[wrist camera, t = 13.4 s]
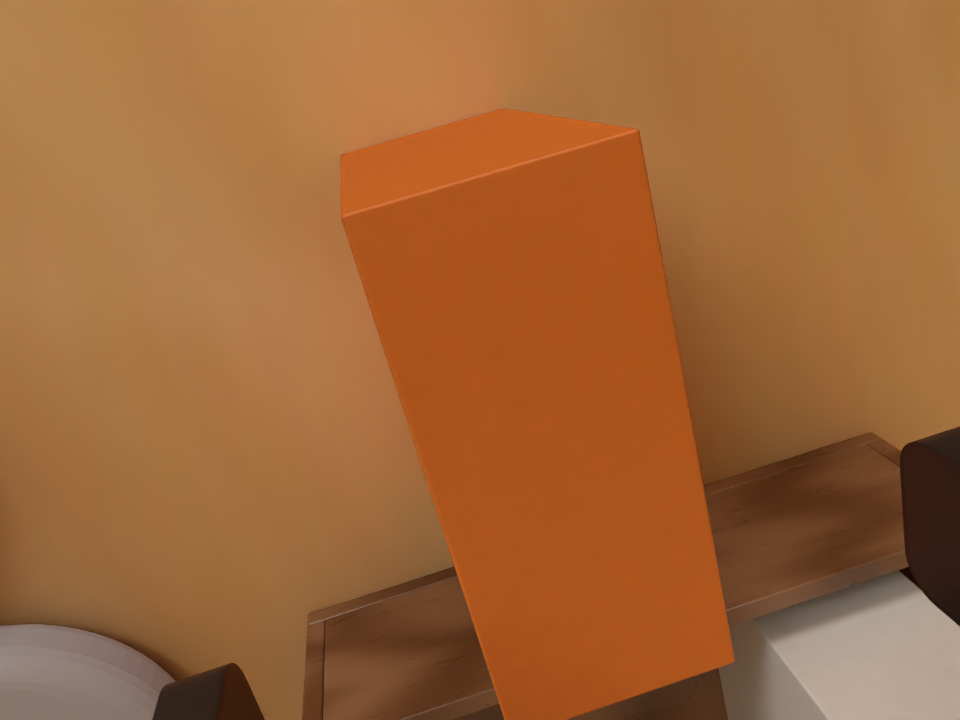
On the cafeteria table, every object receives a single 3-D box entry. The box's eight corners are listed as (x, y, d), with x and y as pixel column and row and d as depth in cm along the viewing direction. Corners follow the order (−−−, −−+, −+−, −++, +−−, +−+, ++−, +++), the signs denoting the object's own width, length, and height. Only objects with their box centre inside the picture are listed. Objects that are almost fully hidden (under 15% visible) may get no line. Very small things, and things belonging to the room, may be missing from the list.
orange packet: (444, 485, 22) (510, 740, 13) (340, 155, 18) (339, 214, 10) (584, 441, 22) (736, 663, 13) (505, 107, 19) (640, 127, 10)
